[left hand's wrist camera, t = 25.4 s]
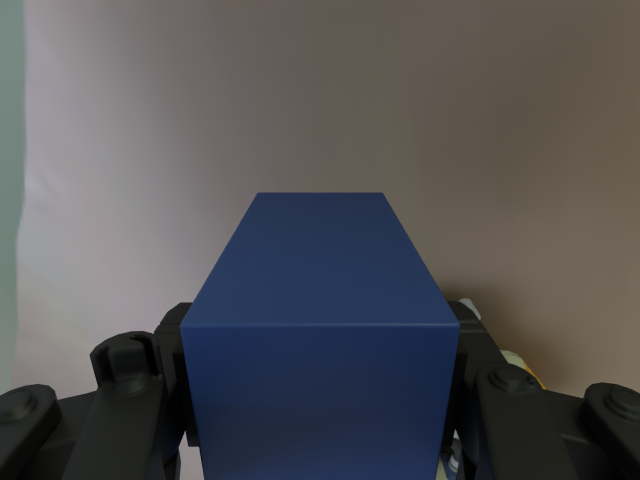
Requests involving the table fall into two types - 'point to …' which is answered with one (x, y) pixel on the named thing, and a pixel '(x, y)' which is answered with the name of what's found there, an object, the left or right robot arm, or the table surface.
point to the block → (320, 346)
